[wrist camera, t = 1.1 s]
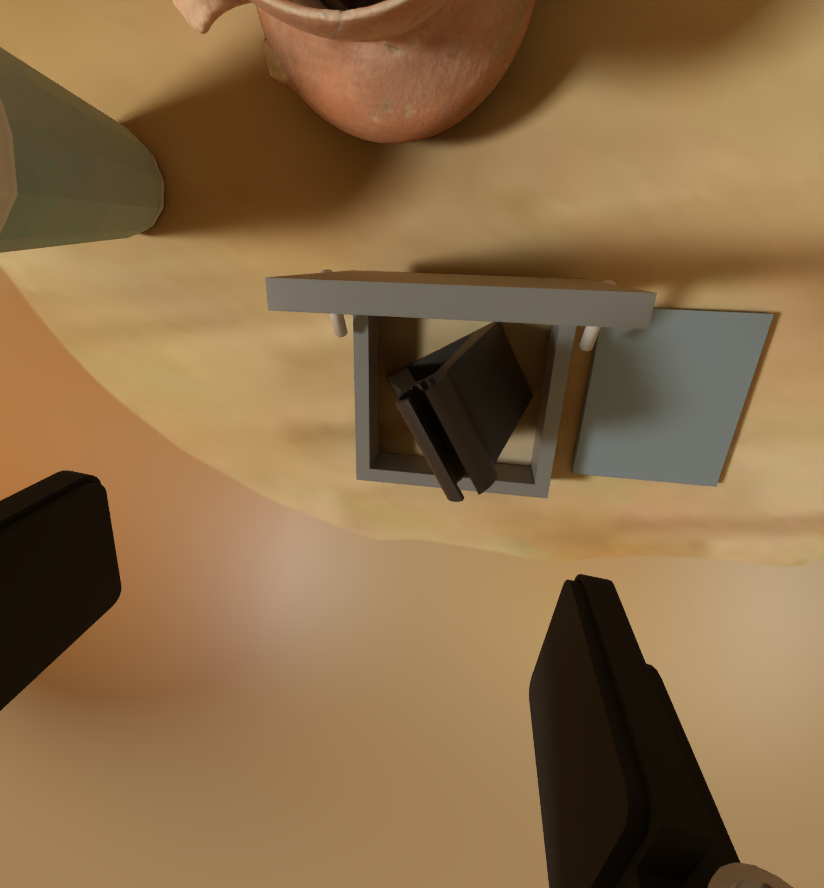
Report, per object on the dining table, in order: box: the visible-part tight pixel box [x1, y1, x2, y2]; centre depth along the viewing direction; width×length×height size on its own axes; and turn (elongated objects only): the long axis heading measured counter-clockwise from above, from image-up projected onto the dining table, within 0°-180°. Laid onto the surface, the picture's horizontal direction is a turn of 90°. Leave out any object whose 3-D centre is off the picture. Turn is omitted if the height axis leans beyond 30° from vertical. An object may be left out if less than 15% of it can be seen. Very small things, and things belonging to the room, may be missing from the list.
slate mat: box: [571, 308, 774, 487], centre depth 31 cm, size 10×12×1 cm
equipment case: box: [266, 270, 657, 498], centre depth 26 cm, size 16×15×15 cm
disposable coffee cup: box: [0, 47, 165, 253], centre depth 24 cm, size 11×11×15 cm
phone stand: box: [386, 322, 533, 502], centre depth 27 cm, size 9×6×12 cm, turn 118°
